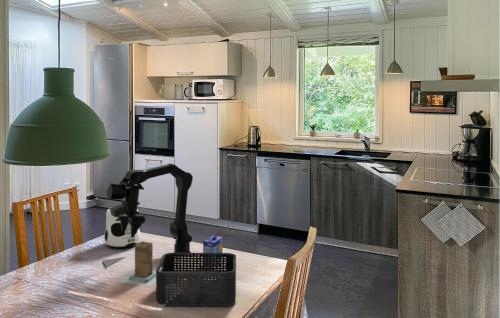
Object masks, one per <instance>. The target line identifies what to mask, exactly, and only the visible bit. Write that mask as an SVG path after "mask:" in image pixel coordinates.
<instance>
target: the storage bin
mask: <svg viewBox="0 0 500 318" xmlns="http://www.w3.org/2000/svg"><path fill="white" fill-rule="evenodd" d="M204 257H206V258H204ZM208 257H209V258H208ZM211 257H213V258H211ZM214 257H216V258H214ZM218 257H219V258H218ZM221 257H222V258H221ZM204 262H206V263H204ZM208 262H209V263H208ZM211 262H213V263H211ZM214 262H216V263H214ZM218 262H219V263H218ZM221 262H222V263H221ZM215 264H216V265H215ZM218 264H219V265H218ZM211 267H213V268H211ZM214 267H215V268H214ZM155 271H156V283H155V285H156V286H155V290H156V291H155V294H156V295H155V298H156V299H155V300H156V301H155V302H156V303H158V304H159V305H164V306H163V307H164V308H165V307H167V308H169V307H177V308H178V307H180V308H182V307H183V308H185V307H186V308H189V307H190V308H208V307H209V308H213V307H215V308H224V307H232V306H234V305H236V299H237V297H236V296H237V295H236V294H237V255H236V254H234V253H231V252H222V253H203V252H191V253H175V252H168V253H164V254H163V255H162V256H161V259H160V261H159V262H158V265H157V266H156V268H155Z"/></svg>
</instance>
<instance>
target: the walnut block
mask: <svg viewBox="0 0 500 318" xmlns="http://www.w3.org/2000/svg"><path fill="white" fill-rule="evenodd" d="M153 246H154V245H153V242H150V241H149V242H148V241H139V242H138V243H137V244H135V245H134V271H135V276H136V277H142V278H147V277H149V276H150V275H152V274H153V271H154V270H153V266H154V264H153V263H154V261H153V259H154V257H153V251H154V249H153Z"/></svg>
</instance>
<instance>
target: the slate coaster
mask: <svg viewBox="0 0 500 318" xmlns="http://www.w3.org/2000/svg"><path fill="white" fill-rule="evenodd" d="M125 258H126V256H121V257H115V258H107V259H103V260H102V264H104V267H105V268H106V269H108V268H109V267H111V266H113V265H115V264H116V263H118V262H120V261H121V260H124V259H125Z"/></svg>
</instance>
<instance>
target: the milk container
mask: <svg viewBox="0 0 500 318" xmlns="http://www.w3.org/2000/svg"><path fill="white" fill-rule="evenodd" d="M137 211H138V212H139V209H138V208H137ZM105 216H106V218H105V224H106V226H105V232H104V242H105V245H107V246H108V247H110V248H114V249H115V248H117V249H121V248H129V247H133V246H135V245H136V244H138V243H140V239H141V231H140V228H139V229H138V231H137V232H136V234H135V236H134V237H131V225H130V224H129V223H128V225H127V228H126V230H125V232H122V228H121V223H120V219H119V218H118V217H114V216H112V215H111V211H110V208H108V209H107V210H106V214H105Z"/></svg>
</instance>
